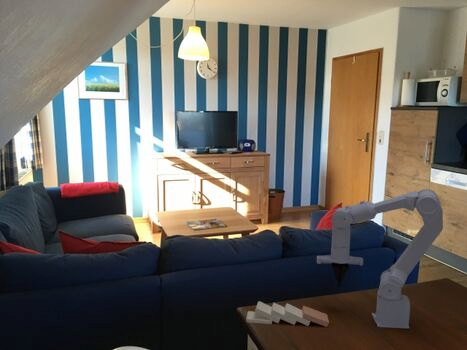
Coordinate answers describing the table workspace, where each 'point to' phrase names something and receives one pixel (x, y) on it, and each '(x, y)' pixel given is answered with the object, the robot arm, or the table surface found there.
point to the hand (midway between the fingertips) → (338, 284)
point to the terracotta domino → (315, 316)
